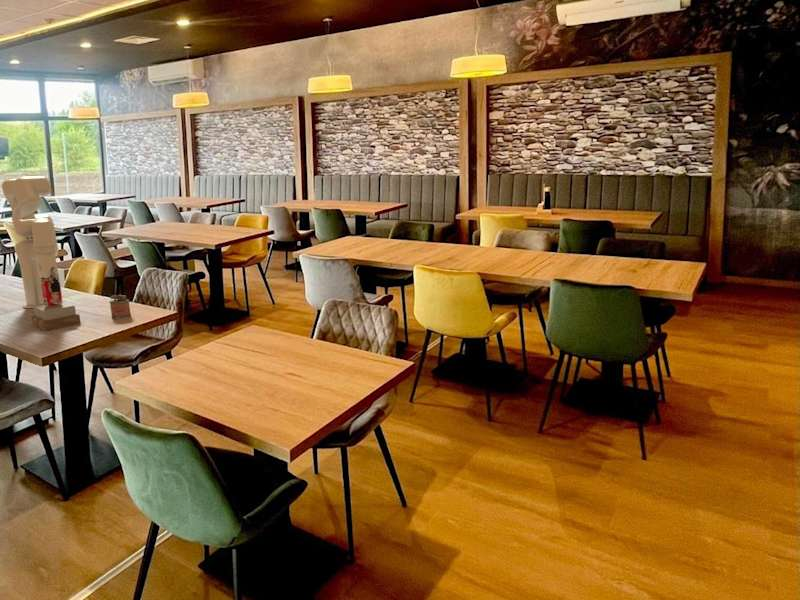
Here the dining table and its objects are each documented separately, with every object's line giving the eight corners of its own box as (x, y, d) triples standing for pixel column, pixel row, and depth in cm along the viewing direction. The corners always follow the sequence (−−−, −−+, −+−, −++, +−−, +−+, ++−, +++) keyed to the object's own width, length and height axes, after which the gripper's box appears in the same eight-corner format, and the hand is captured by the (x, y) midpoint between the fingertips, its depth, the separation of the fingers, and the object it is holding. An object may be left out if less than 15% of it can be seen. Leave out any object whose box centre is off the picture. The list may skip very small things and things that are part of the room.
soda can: (66, 304, 273) (62, 276, 270) (56, 308, 266) (52, 280, 263) (51, 303, 273) (47, 276, 270) (40, 308, 267) (36, 280, 264)
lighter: (131, 315, 284) (129, 293, 281) (130, 317, 280) (127, 295, 278) (112, 316, 282) (109, 294, 279) (111, 318, 279) (108, 296, 276)
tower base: (32, 325, 271) (31, 316, 270) (66, 317, 281) (65, 309, 280) (46, 331, 262) (44, 321, 261) (80, 323, 272) (79, 314, 271)
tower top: (34, 315, 270) (33, 306, 269) (64, 310, 279) (62, 301, 278) (46, 320, 262) (44, 311, 261) (75, 314, 271) (74, 305, 270)
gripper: (27, 249, 266) (33, 288, 271) (43, 253, 255) (50, 295, 260) (46, 246, 272) (52, 285, 276) (63, 251, 261) (69, 291, 265)
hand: (51, 290), depth 268 cm, fingers open, 9 cm apart
